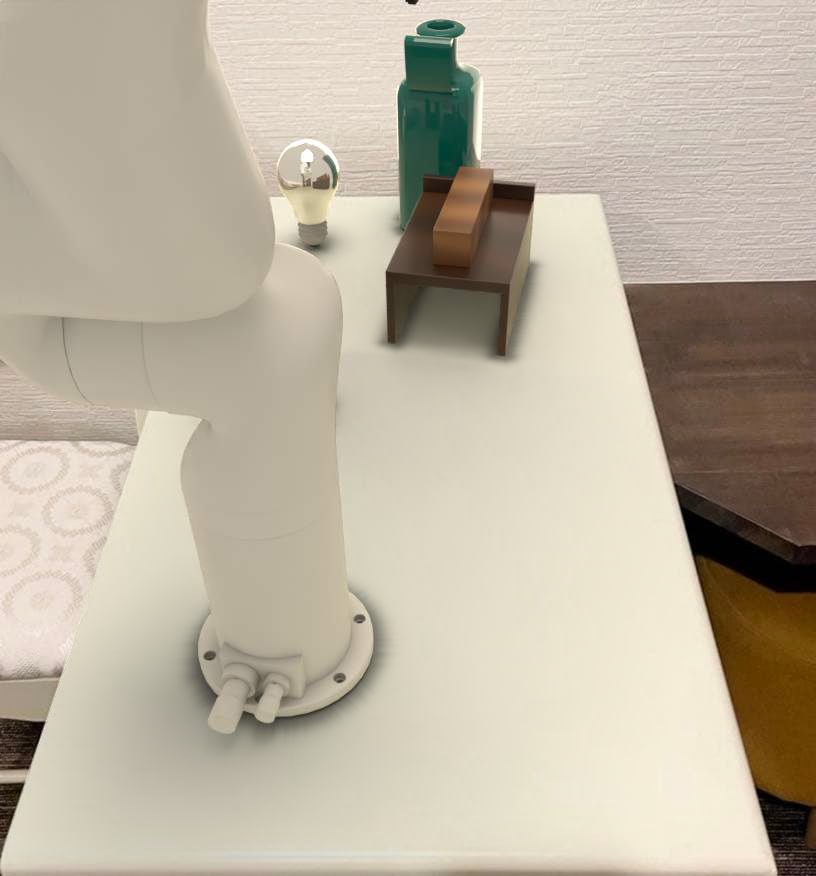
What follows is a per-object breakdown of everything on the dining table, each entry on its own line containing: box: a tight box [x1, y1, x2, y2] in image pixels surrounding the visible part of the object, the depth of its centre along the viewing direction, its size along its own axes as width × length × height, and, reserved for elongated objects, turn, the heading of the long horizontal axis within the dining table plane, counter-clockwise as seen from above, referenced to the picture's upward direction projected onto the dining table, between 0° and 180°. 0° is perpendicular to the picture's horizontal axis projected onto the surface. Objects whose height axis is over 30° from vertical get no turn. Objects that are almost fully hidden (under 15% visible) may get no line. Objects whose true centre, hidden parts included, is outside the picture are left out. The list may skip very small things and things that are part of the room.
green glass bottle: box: [396, 18, 484, 230], centre depth 110 cm, size 10×8×22 cm
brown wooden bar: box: [433, 166, 495, 268], centre depth 98 cm, size 14×4×4 cm, turn 168°
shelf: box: [385, 174, 536, 356], centre depth 102 cm, size 18×12×10 cm, turn 168°
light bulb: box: [276, 138, 341, 248], centre depth 110 cm, size 7×7×12 cm
